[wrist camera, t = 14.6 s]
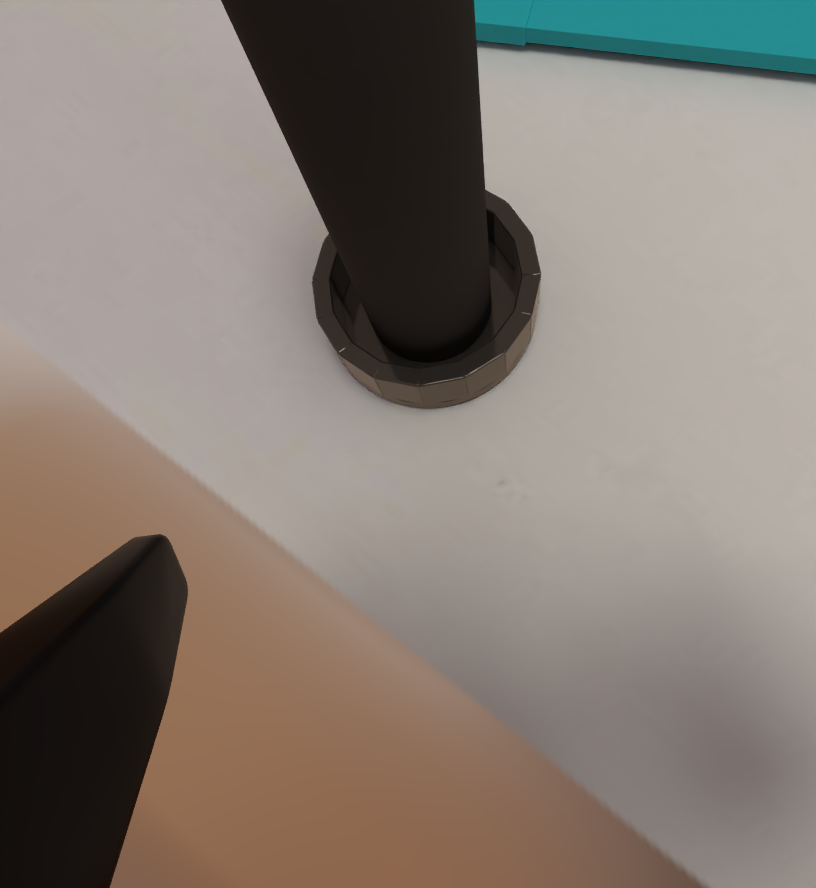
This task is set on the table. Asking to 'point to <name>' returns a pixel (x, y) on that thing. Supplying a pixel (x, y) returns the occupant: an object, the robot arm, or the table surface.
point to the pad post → (386, 152)
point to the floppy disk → (663, 28)
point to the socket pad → (456, 375)
